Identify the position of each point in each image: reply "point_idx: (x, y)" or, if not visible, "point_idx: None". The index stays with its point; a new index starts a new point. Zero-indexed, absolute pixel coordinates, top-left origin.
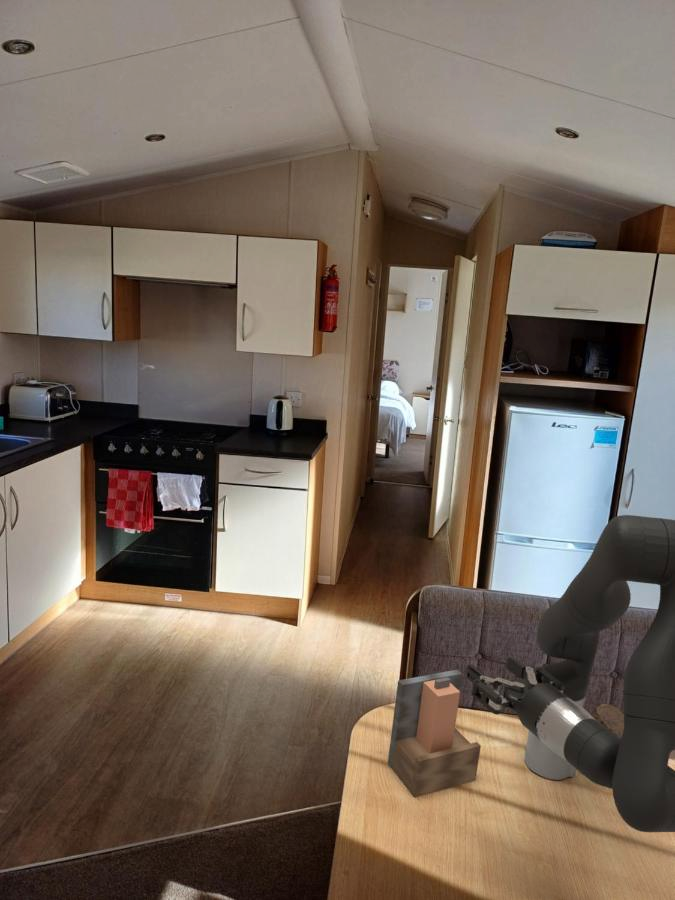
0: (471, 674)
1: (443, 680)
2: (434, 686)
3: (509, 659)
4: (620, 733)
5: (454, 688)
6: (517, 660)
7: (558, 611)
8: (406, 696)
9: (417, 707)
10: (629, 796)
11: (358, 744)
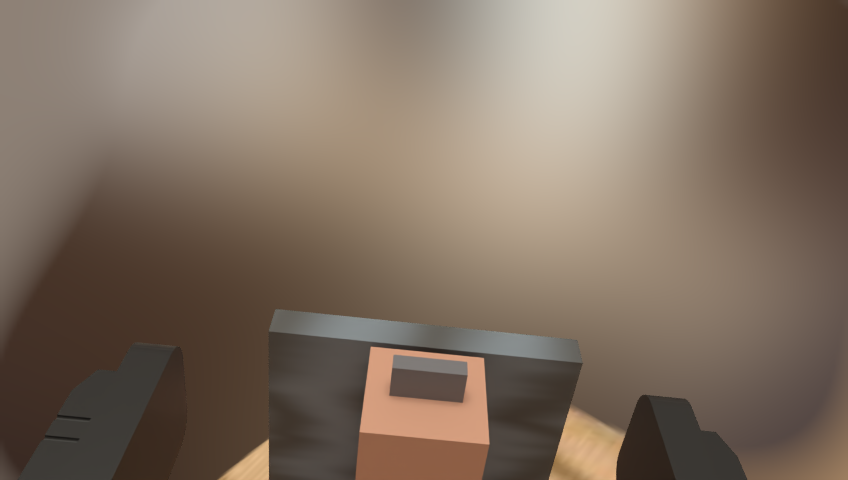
0: (42, 450)
1: (430, 368)
2: (390, 380)
3: (645, 415)
4: None
5: (478, 418)
6: (730, 452)
7: None
8: (295, 378)
9: (355, 430)
10: None
11: (252, 455)
